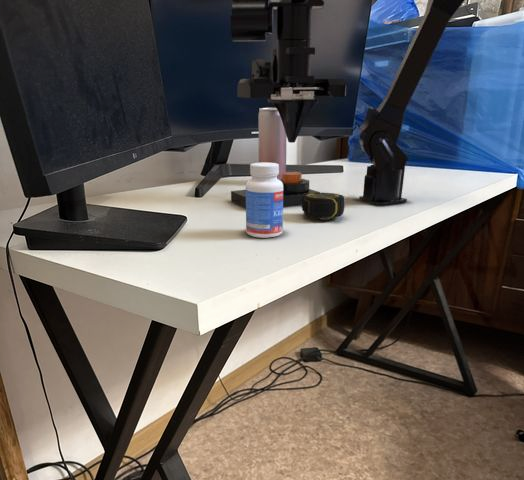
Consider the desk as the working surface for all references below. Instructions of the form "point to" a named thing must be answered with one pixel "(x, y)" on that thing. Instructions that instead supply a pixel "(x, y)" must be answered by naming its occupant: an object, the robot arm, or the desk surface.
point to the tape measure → (323, 205)
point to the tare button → (291, 177)
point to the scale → (290, 193)
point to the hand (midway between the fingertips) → (291, 142)
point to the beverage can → (272, 139)
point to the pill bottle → (264, 201)
